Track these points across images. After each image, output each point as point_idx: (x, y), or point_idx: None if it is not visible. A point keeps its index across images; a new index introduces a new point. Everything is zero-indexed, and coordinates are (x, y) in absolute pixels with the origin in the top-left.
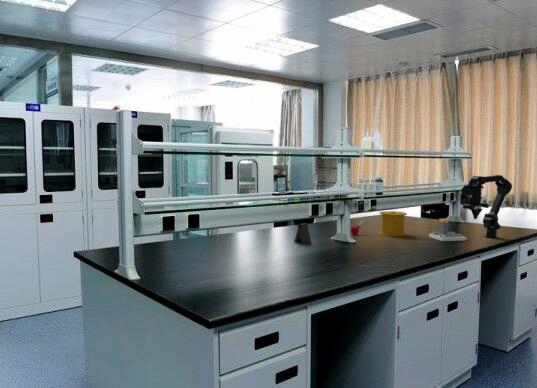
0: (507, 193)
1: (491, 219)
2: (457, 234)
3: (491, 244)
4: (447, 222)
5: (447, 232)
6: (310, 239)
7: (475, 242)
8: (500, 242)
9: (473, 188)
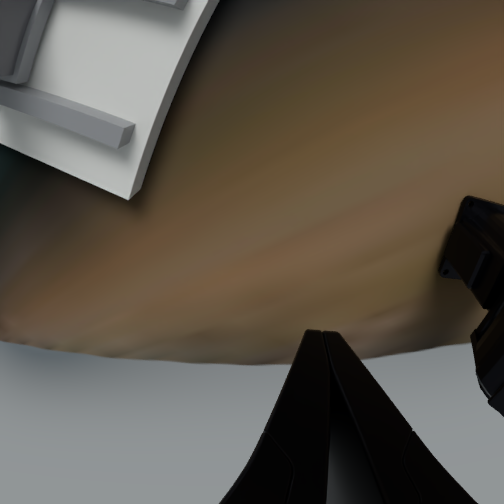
0: None
1: (495, 408)
2: (70, 129)
3: (184, 356)
4: None
5: (2, 76)
6: None
7: (140, 273)
8: None
9: None
